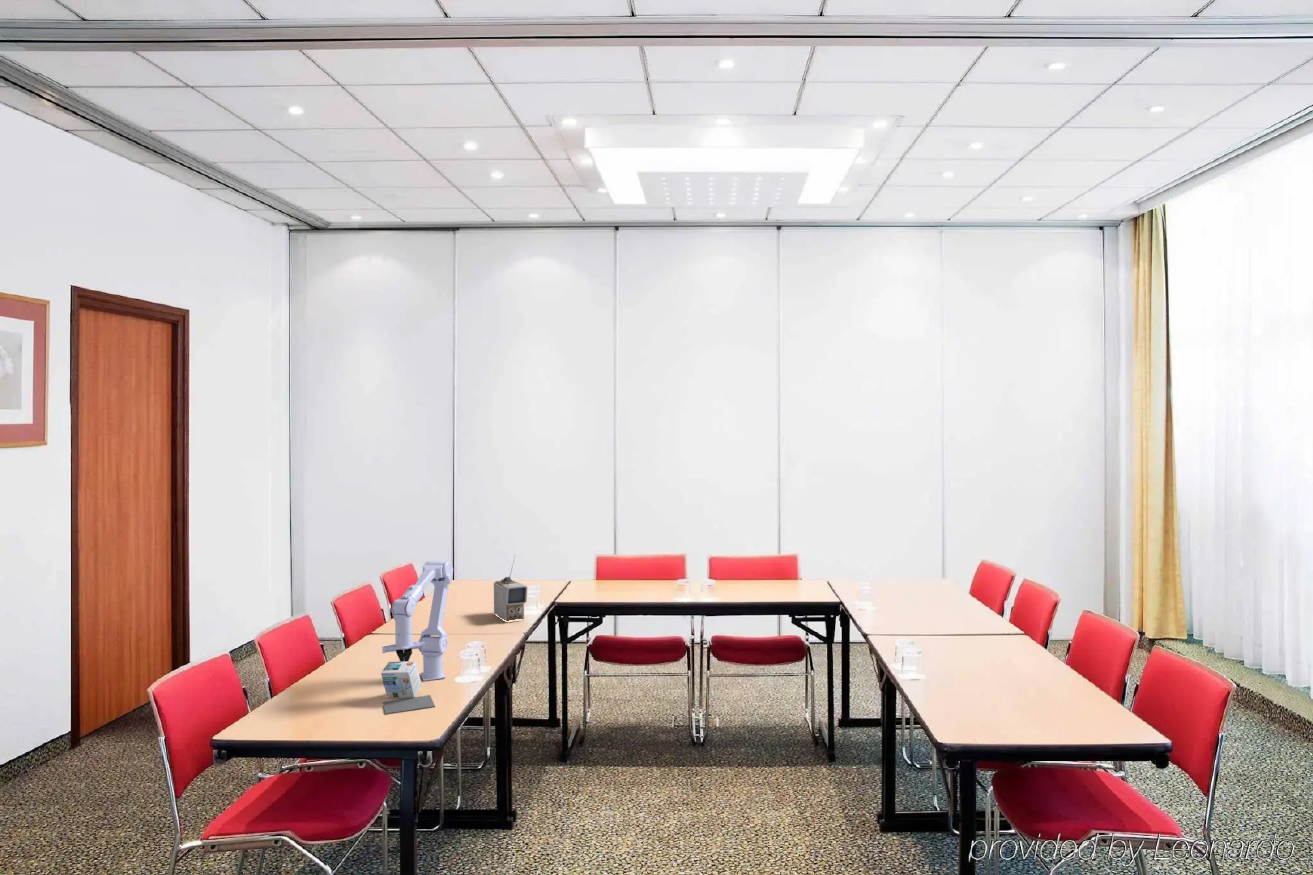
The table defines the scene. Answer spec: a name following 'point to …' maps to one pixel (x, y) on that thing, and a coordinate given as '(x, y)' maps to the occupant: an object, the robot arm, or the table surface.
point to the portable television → (509, 598)
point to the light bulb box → (401, 679)
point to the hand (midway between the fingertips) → (404, 670)
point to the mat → (408, 704)
